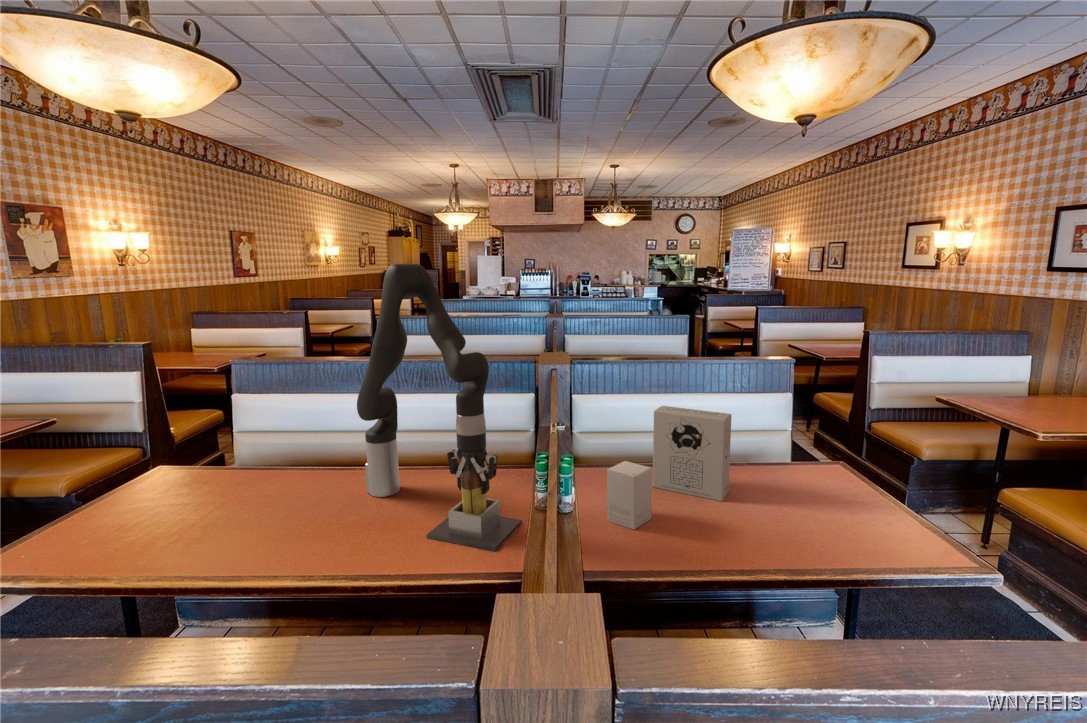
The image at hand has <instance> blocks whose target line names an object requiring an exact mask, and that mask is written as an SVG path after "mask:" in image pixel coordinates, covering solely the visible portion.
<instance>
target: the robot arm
mask: <svg viewBox="0 0 1087 723" xmlns="http://www.w3.org/2000/svg"><path fill="white" fill-rule="evenodd" d="M409 298H411V299H412V298H417V299H418V300H419V301H421V303H422V304H423V305H424V308H425V309H426V310H425V311H426V328H427V332H428V334H429V336H430V337H431V338H430V339H432V341H433V342H434V343H435V345H436V347H437V348H438V349H439V352H440V355H441V356H442V357H441V358H442V360H443V363H444V366H445V369H446V372H447V375H448V376H449V377H450V379H451V380H452V381H454V382H455V383H459V384H464V383H466V385H465V387H464V388H462V389H460V391H458V392H457V393H456V396H455V409H456V420H455V428H456V431H455V432H456V447H457V450H455V449H451V451H449V452H447V453H446V456H447V460H448V462H447V463H448V468H449V472H450V473H449V474H451V475H455V476H456V480H457V481H456V483H457V485H456V486H457V489H458V490H459V491H461V473H462V471H463V469H464V465H465V461H466V460H465V458H464V456H463V451H466V452H475V457H472V458H471V462H472V464H473V465H474V467H475V469H476V471H477V473H478V474H479V475H480V477H481V479H482V481H481V490H482V494H488V492H489V491H490V481H491V480H492V479H493V478H495V477H496V476H497V468H498V457H499V456H498V455H496V454H494V455H492V454H491V455H490V454H488V452H487V432H486V431H487V430H486V429H487V427H486V417H485V407H484V406H485V405H484V404H485V403H484V401H485V400H484V396H485V392H486V388H487V383H488V378H489V373H490V368H489V362H488V359H487V357H486V356H485V355H484V354H483V353H482V352H478V351H475V352H469V353H464V354H463V353H461V352H462V351H463V350H464V348H465V347H466V344H467V343H466V342H467V341H466V339H465V337H464V335H463V334H462V332H461V331H460V329H459V328H458V327H457V325H456V324H455V322H454V321H453V319H452V318H451V317H450V315H449V313H448V311H447V309H446V307H445V305H444V304H443V301H442V299H441V296H440V295H439V292H438V289H437V288H436V286H435V283H434V282H433V279H432V278H431V276H430V273H429V272H428V271H427V269H426V268H425V267H424V265H421V264H417V263H395V264H394V263H393V264H391V265H389V267H388V268H387V269H386V272H385V274H384V278H383V284H382V294H381V302H380V308H379V309H380V310H379V316H378V321H377V324H376V328H375V329H376V330H375V333H374V337H373V340H372V341H373V342H372V344H371V350H370V356H369V360H368V364H367V368H366V372H365V376H364V378H363V380H362V381H363V382H362V384H361V387H360V390H359V392H358V396H357V400H356V409H357V414H358V417H359V418H360V419H361V420H363V421H367V422H368V421H369V422H370V421H375V420H377V421H376V422H375V423H374V424H373V426H371V427H370V428H368V429H367V430H366V432H365V434H364V435H365V436H364V437H365V448H366V450H365V451H366V460H367V462H366V463H365V465H364V470H365V472H364V473H365V483H366V493H368V494H370V496H372V497H375V498H383V497H385V498H386V497H389V496H393V495H396V494H397V493H399V492H400V490H401V486H400V484H401V483H400V468H399V457H398V456H399V455H398V454H399V453H398V440H397V431H398V428H399V427H398V424H399V423H398V400H397V396H396V394H395V392H394V390H393V389H392V388H390V387H387V386H386V387H385V386H384V384H385V383H386V382H387V380H389V377H391V375H392V374H393V373H394V372H395V371H396V370H397V368H398V367H399V365H400V364H402V361H403V358H404V356H405V352H406V349H407V346H408V345H407V343H408V335H407V332H406V329H405V326H404V325H403V323H402V321H401V317H400V314H401V313H400V312H401V306H402V302H403V300H404V299H409ZM383 386H384V387H383ZM458 459H459V460H460V463H459V464H458ZM486 461H487V463H486ZM487 464H488V465H487Z"/></svg>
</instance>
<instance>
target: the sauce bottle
mask: <svg viewBox="0 0 1087 723" xmlns="http://www.w3.org/2000/svg"><path fill="white" fill-rule="evenodd" d="M463 456H464V458H465V460H466V461H465V465H464V469H463V471H462V473H461V490H460V492H461V501H462V503H463V512H464V513H470V514H476V515H480V514H482V513H483V512H484V511H485V510H486V509H487V507H486V498H487V496H486V494H487V493H486V494H482V490H481V481H482V479H481V477H480V475H479V474H478V473H477V471H476V469H475V467H474V465H473V464H472V462H471V458H472V457H475V452H466V451H463Z"/></svg>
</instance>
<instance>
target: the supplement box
mask: <svg viewBox="0 0 1087 723" xmlns="http://www.w3.org/2000/svg"><path fill="white" fill-rule="evenodd" d="M606 474H607V476H606V478H607V484H606V485H607V486H606V487H607V490H606V491H607V493H606V494H607V521H608V522H611V523H613V524H617V525H620V526H622V527H625V528H628V529H631V530H633V531H635V530H636V529H638V528H639V527H640V526H642V525H644V524H645V523H647V522H648V521H650V520H651V519H652V480H653V467H650V466H646V465H642V464H639V463H634V462H631V461H627V460H624V461H621V462H620V463H617V464H616V465H612V466H611V467H609V468H607V469H606Z"/></svg>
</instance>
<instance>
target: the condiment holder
mask: <svg viewBox="0 0 1087 723" xmlns="http://www.w3.org/2000/svg"><path fill="white" fill-rule="evenodd" d="M486 507H487V509H486V510H485V511H484V512H483V513H482V514H480V515H476V514H470V513H464V512H463V503H462V500H461V501H459V502H458V503H457V504H456V505H454V506H453V507H452V508H451V509H449V510H448V511H447V514H448V515H447V518H445V519H444V520H443V521H442V522H440V523H439V524H437V526H435V527H434V528H432V529H431V530H429V532H427V533H426V538H427V539H429V538H430V539H429V540H434V539H435V541H439V540H441V541H440V542H445V543H450V542H451V543H450V544H455V543H457V544H456V545H460V544H461V545H460V546H465V545H466V546H465V547H471V548H476V549H479V550H486V551H490V552H497V550H498V549H499V548H500V547H501V546H502V545H503V544H504V543H505V542H507V539H509V538H510V537H511V536H512V535H513V534H514V533H515V531H516V530H517V529H518V528H519V527H520V526H521V525H522V524H523V520H522V519H519V518H513V517H509V516H508V517H507V516H501V501H500V499H493V498H488V497H486Z"/></svg>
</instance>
